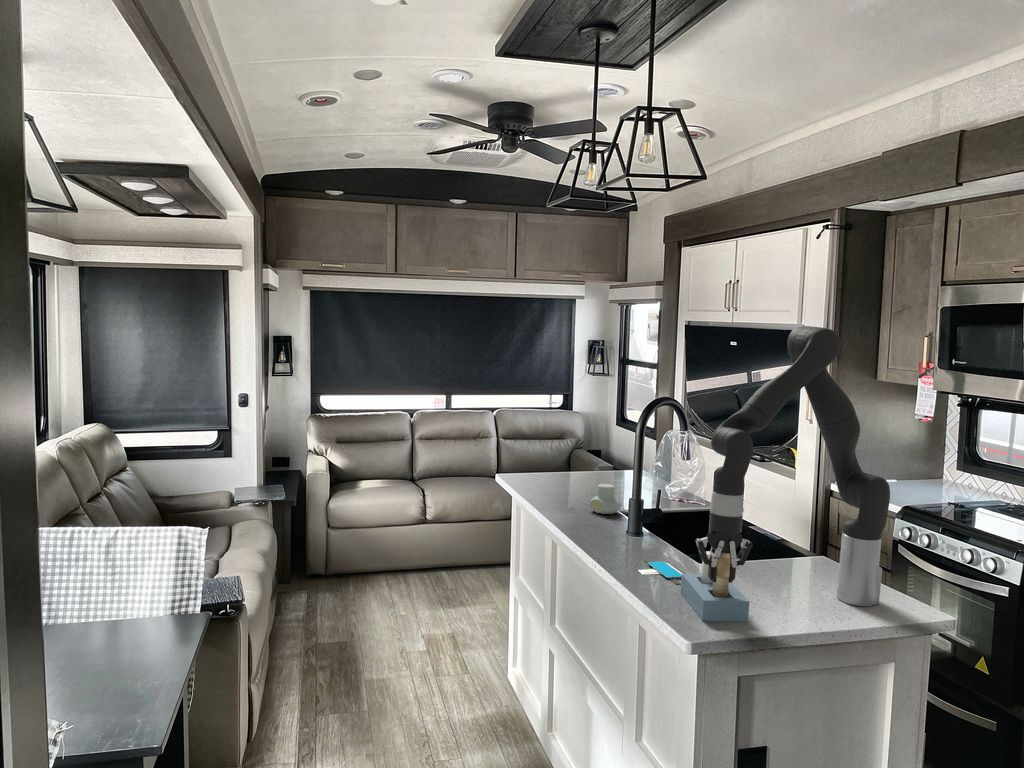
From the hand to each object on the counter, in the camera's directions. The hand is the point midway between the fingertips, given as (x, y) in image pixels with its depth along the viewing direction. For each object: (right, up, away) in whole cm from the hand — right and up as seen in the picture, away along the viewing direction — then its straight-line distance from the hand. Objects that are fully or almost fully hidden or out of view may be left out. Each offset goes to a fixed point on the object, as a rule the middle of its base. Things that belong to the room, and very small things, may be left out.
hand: (721, 580), depth 182 cm
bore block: (-1, -8, +5) cm, 9 cm away
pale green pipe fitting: (-17, +1, +91) cm, 92 cm away
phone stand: (-9, -6, +29) cm, 31 cm away
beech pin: (0, -4, 0) cm, 4 cm away
